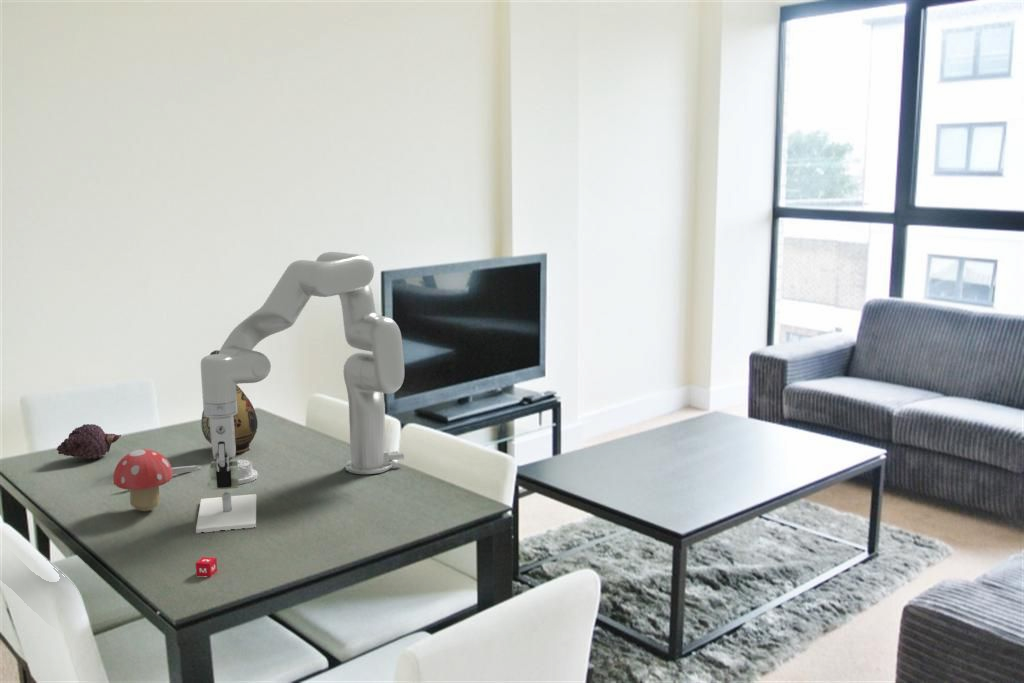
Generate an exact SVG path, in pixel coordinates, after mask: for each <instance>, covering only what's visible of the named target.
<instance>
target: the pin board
mask: <svg viewBox="0 0 1024 683" xmlns="http://www.w3.org/2000/svg"><path fill="white" fill-rule="evenodd" d="M197 515H198V516H197V520H196V521H197V522H196V526H195V534H202V533H201V532H204V533H212V532H213V531H214V532H221V531H220V530H225V531H232V530H231V529H235V530H243V529H242V528H245V529H251V528H252V529H253V528H254V527H255V528H257V494H256V493H253V494H243V495H242V494H240V495H232V494H231V493H230V492H227V491H226V492H224V493H223V494H222V496H220V497H207V498H201V499H200V504H199V509H198V514H197Z"/></svg>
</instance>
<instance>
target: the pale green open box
mask: <svg viewBox="0 0 1024 683" xmlns="http://www.w3.org/2000/svg"><path fill="white" fill-rule="evenodd" d="M238 460H239V459H231V460H229V470H231V483H232V486H231V487H225V488H218V487H217V477H216V471H217V460H216V461H210V466H209V479H210V490H211V491H216V490H217V491H218V490H229V489H238V488H239V484H238V482H239V477H238ZM225 462H226V463H227V461H225Z"/></svg>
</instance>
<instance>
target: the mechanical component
mask: <svg viewBox="0 0 1024 683" xmlns="http://www.w3.org/2000/svg"><path fill="white" fill-rule="evenodd" d="M237 460H238V477H239V482H238V485H243V483H244V484H249V483H251V481H252V482H253V480H254V481H255V479H256V480H257V479H258V478H259V477H258V471H257V470H256V469H254V468H253V462H252V461H250V460H249V461H248V459H237Z"/></svg>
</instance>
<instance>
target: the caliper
mask: <svg viewBox="0 0 1024 683" xmlns="http://www.w3.org/2000/svg"><path fill="white" fill-rule="evenodd" d="M202 469H203V468H202V467H200V466H198V465H187V466H176V467H172V471H173V475H174V474H183V473H184V474H185V473H193V472H192V471H194V472H197V471H198V470H202ZM196 470H197V471H196Z"/></svg>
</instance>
